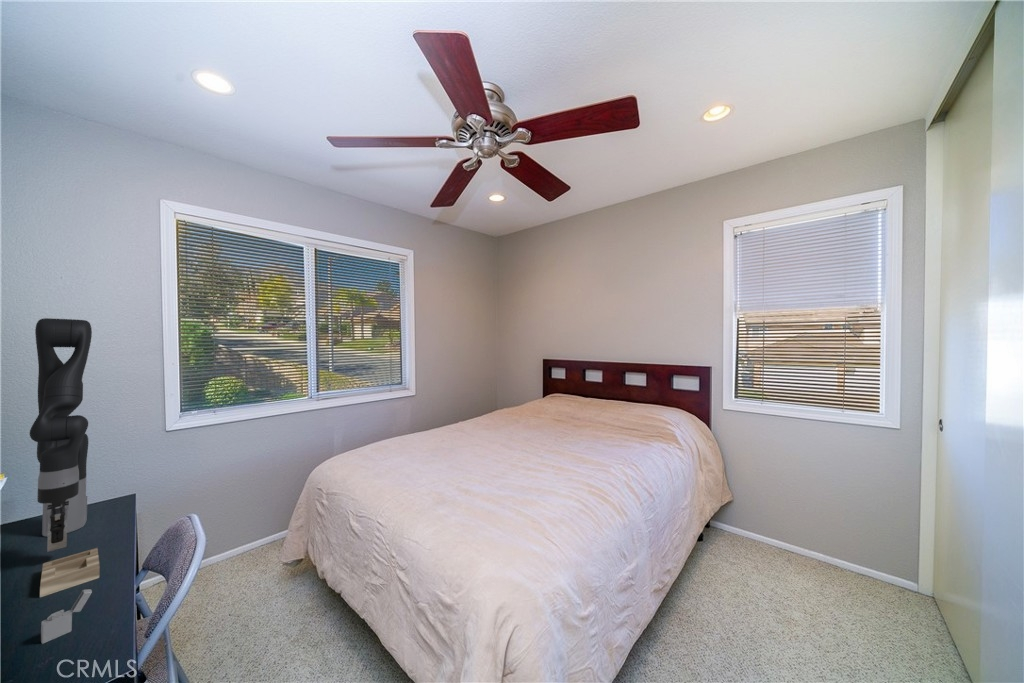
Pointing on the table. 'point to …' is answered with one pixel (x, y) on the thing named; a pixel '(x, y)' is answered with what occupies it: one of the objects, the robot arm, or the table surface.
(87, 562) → the holder
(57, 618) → the lighter
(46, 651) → the table surface
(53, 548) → the grey rectangular block
